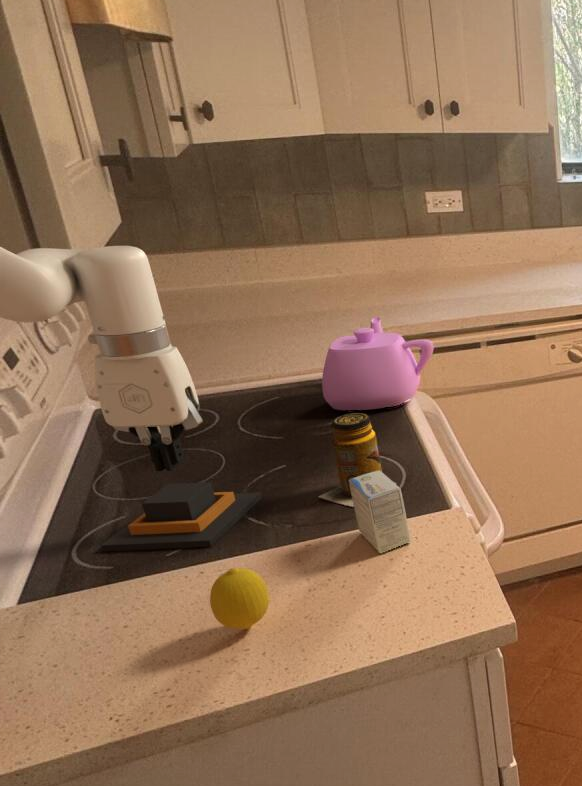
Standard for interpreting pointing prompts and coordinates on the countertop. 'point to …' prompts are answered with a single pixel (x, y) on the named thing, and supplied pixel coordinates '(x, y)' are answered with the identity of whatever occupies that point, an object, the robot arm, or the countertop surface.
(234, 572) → the lemon
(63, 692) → the countertop surface
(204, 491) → the small block
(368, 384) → the teapot
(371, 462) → the condiment
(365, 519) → the medicine box
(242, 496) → the base pad
